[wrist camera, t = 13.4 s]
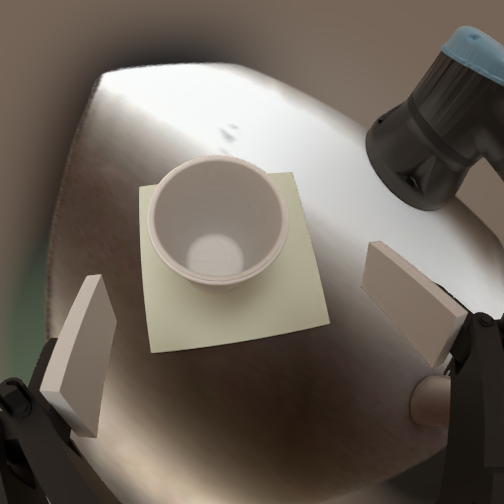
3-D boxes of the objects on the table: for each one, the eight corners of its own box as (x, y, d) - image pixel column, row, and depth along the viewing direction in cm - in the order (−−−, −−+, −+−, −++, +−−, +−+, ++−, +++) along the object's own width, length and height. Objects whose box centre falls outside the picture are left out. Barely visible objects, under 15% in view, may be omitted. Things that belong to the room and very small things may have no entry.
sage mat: (290, 176, 31) (292, 172, 30) (326, 324, 26) (330, 323, 25) (140, 190, 28) (139, 187, 27) (153, 353, 23) (151, 353, 22)
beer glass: (400, 388, 25) (516, 393, 11) (442, 361, 26) (547, 348, 12) (410, 439, 23) (514, 464, 9) (451, 409, 24) (549, 414, 10)
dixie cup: (258, 313, 25) (289, 290, 15) (162, 303, 24) (133, 275, 14) (263, 224, 27) (290, 162, 18) (175, 215, 27) (162, 148, 17)
